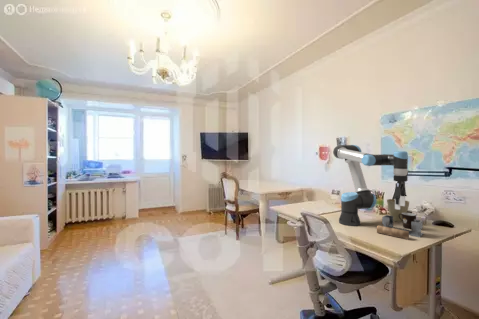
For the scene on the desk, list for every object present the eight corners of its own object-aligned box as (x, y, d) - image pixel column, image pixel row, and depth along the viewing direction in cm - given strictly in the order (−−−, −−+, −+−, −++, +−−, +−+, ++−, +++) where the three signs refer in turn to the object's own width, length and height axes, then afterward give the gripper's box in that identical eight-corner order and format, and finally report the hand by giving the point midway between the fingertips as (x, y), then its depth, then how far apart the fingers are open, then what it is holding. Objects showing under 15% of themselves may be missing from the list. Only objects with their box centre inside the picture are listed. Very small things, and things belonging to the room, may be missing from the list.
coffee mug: (419, 230, 162) (419, 215, 162) (405, 229, 164) (405, 215, 164) (410, 225, 174) (410, 211, 173) (397, 224, 175) (397, 211, 175)
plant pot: (403, 224, 176) (403, 203, 176) (382, 219, 189) (382, 200, 189) (413, 221, 183) (413, 201, 183) (393, 217, 196) (393, 198, 196)
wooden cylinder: (376, 233, 156) (376, 226, 156) (379, 231, 160) (379, 224, 160) (407, 240, 144) (406, 232, 144) (409, 238, 147) (409, 230, 147)
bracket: (381, 229, 164) (381, 216, 164) (385, 227, 170) (385, 214, 170) (420, 237, 148) (420, 223, 148) (423, 234, 153) (423, 220, 153)
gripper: (402, 176, 140) (402, 212, 141) (411, 174, 157) (411, 205, 158) (388, 176, 145) (388, 209, 146) (398, 173, 163) (397, 203, 163)
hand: (400, 207), depth 152 cm, fingers open, 13 cm apart
